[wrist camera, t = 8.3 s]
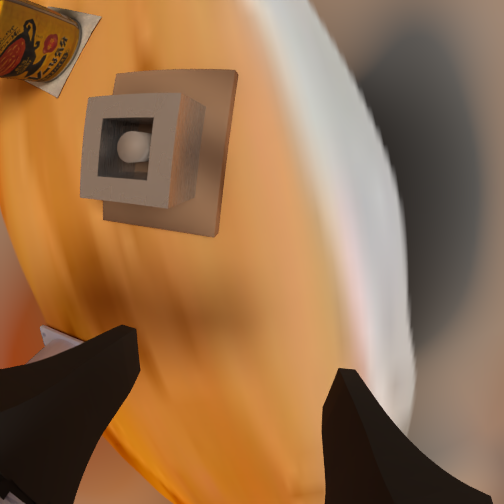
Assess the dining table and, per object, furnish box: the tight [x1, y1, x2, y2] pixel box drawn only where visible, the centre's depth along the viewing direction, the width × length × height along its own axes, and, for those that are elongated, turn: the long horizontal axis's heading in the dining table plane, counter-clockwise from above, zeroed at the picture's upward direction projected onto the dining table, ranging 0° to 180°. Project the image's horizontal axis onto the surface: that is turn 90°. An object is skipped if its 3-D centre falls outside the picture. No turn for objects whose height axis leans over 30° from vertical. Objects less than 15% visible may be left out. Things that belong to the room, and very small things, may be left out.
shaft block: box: [103, 69, 238, 237], centre depth 15 cm, size 10×8×4 cm
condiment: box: [0, 0, 101, 98], centre depth 10 cm, size 7×8×12 cm
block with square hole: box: [80, 93, 206, 209], centre depth 15 cm, size 5×5×4 cm
